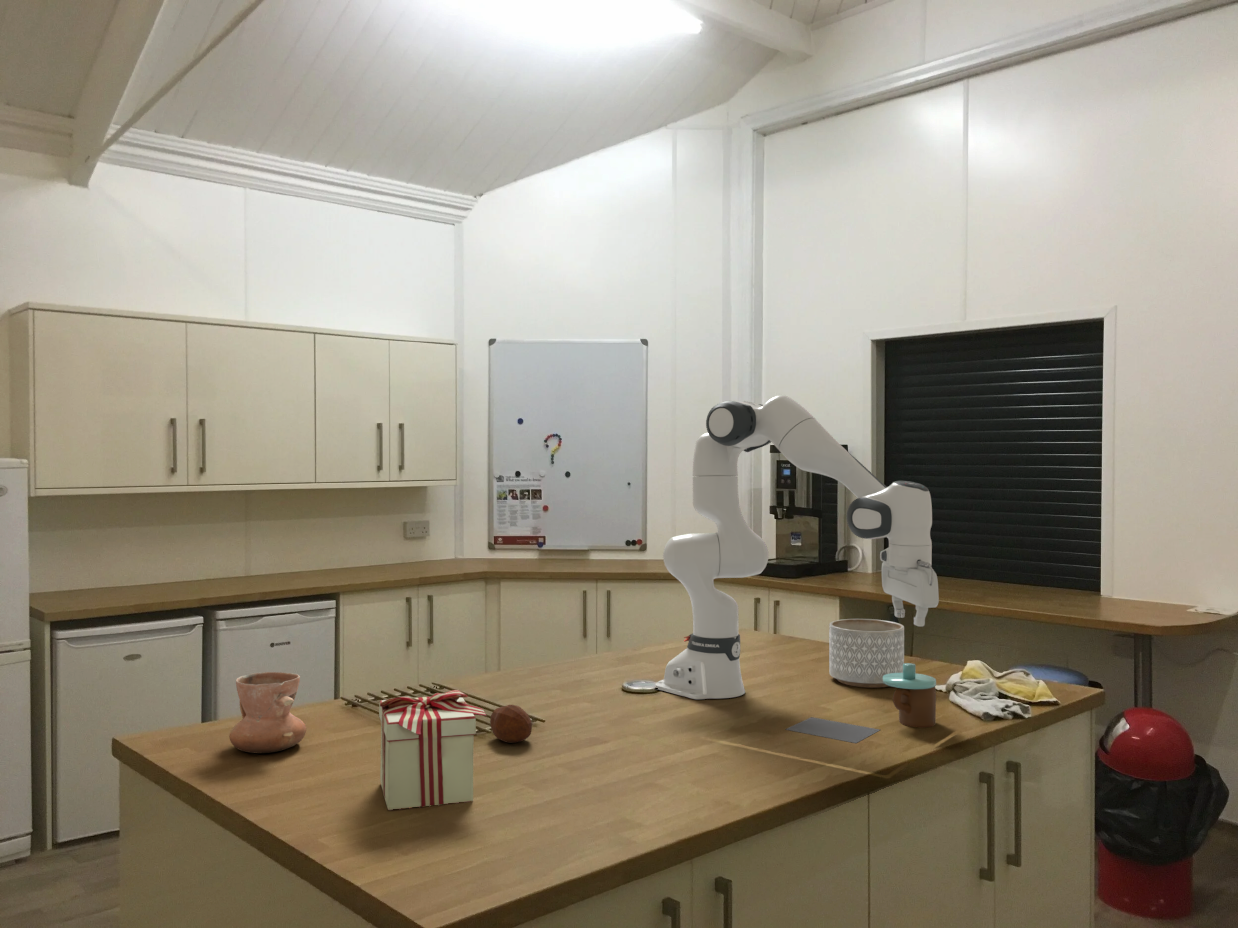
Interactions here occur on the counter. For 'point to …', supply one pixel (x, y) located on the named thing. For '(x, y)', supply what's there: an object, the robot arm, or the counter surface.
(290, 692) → the ceramic jug
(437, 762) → the gift box
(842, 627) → the planter
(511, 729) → the potato
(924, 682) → the lid
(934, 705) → the mug
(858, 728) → the mat
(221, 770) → the counter surface
